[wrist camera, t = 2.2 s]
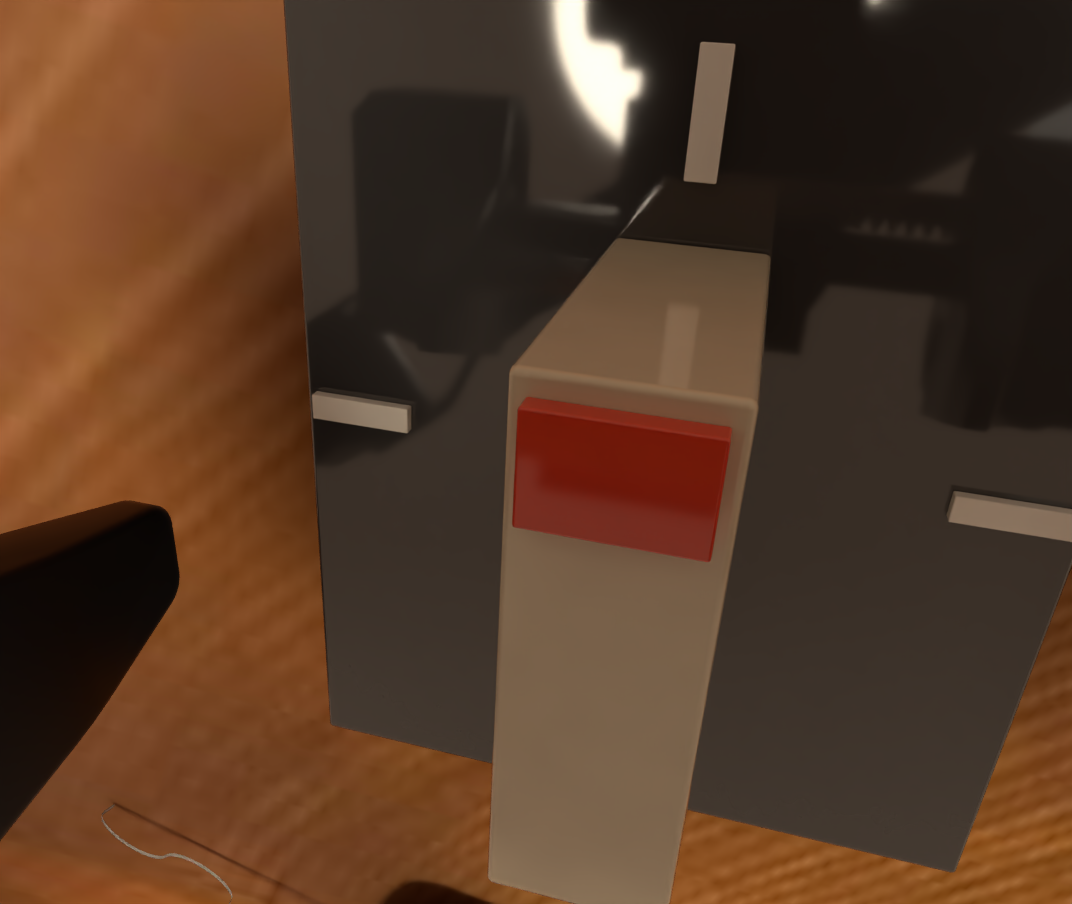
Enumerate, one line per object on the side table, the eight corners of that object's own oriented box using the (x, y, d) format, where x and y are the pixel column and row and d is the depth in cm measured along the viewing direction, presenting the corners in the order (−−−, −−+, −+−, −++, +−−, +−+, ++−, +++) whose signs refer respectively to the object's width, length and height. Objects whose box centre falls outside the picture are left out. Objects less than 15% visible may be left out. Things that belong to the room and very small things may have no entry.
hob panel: (928, 733, 16) (957, 885, 13) (397, 622, 18) (324, 733, 15) (1184, -43, 10) (1325, -67, 8) (383, -77, 12) (267, -104, 10)
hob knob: (705, 645, 12) (661, 954, 8) (579, 619, 13) (478, 904, 9) (772, 254, 10) (759, 415, 6) (614, 236, 10) (497, 378, 6)
